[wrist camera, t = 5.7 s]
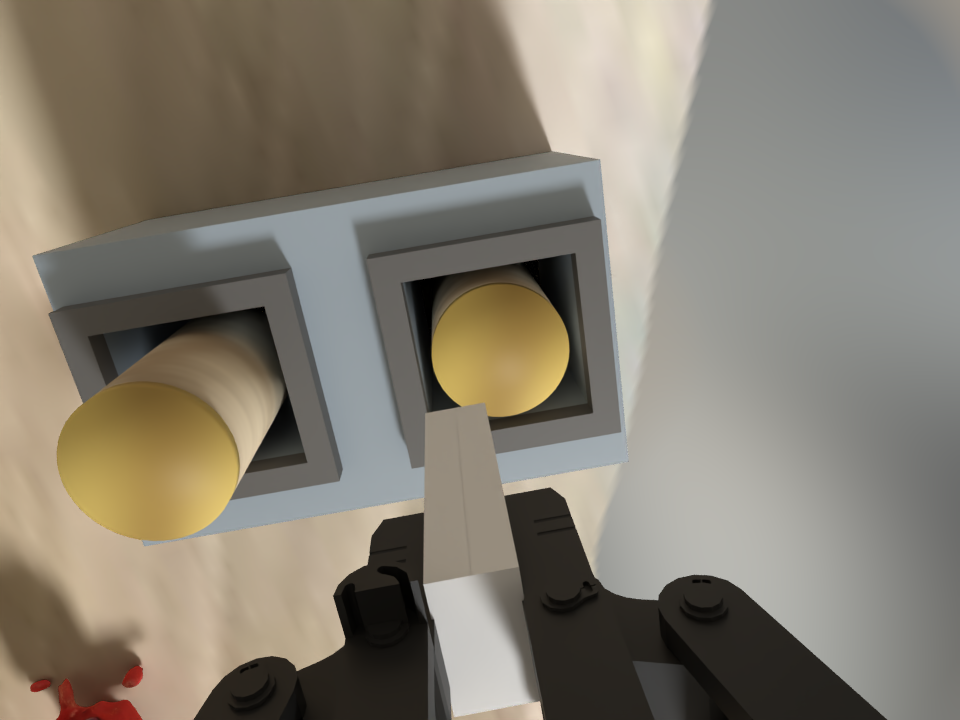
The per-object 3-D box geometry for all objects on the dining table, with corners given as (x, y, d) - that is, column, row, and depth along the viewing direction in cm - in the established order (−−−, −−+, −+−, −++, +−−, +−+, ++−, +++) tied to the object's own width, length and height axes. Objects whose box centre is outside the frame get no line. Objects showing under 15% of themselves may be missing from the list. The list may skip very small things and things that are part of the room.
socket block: (219, 438, 36) (133, 561, 26) (148, 219, 32) (14, 261, 22) (578, 376, 37) (635, 473, 26) (552, 151, 33) (607, 160, 22)
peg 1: (196, 424, 29) (92, 553, 20) (161, 315, 28) (29, 404, 19) (309, 404, 29) (255, 525, 20) (280, 294, 28) (206, 373, 19)
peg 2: (441, 348, 34) (444, 427, 25) (423, 251, 32) (419, 298, 23) (538, 332, 34) (576, 404, 25) (525, 234, 32) (560, 274, 23)
